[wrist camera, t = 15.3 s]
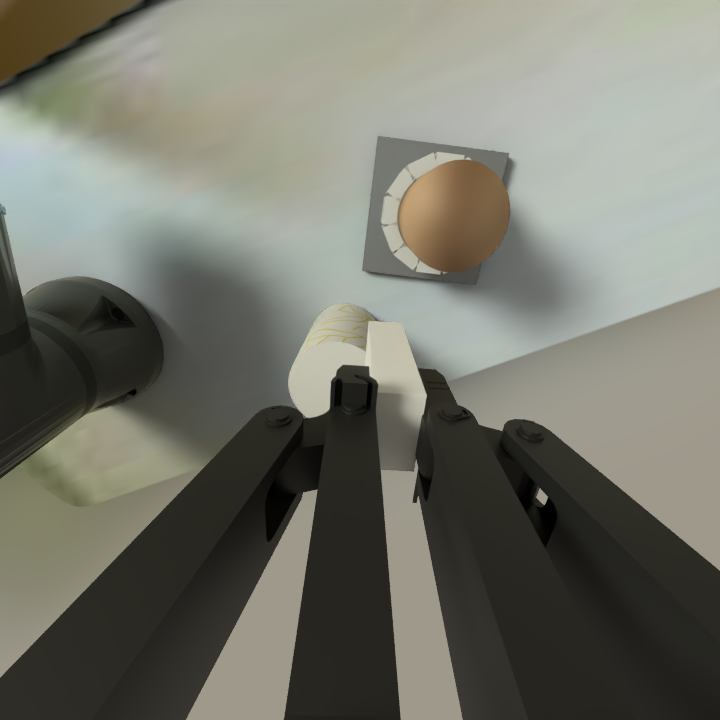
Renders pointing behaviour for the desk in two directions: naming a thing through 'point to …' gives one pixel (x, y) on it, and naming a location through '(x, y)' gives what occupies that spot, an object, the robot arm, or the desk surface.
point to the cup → (327, 355)
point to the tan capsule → (454, 215)
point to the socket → (390, 181)
